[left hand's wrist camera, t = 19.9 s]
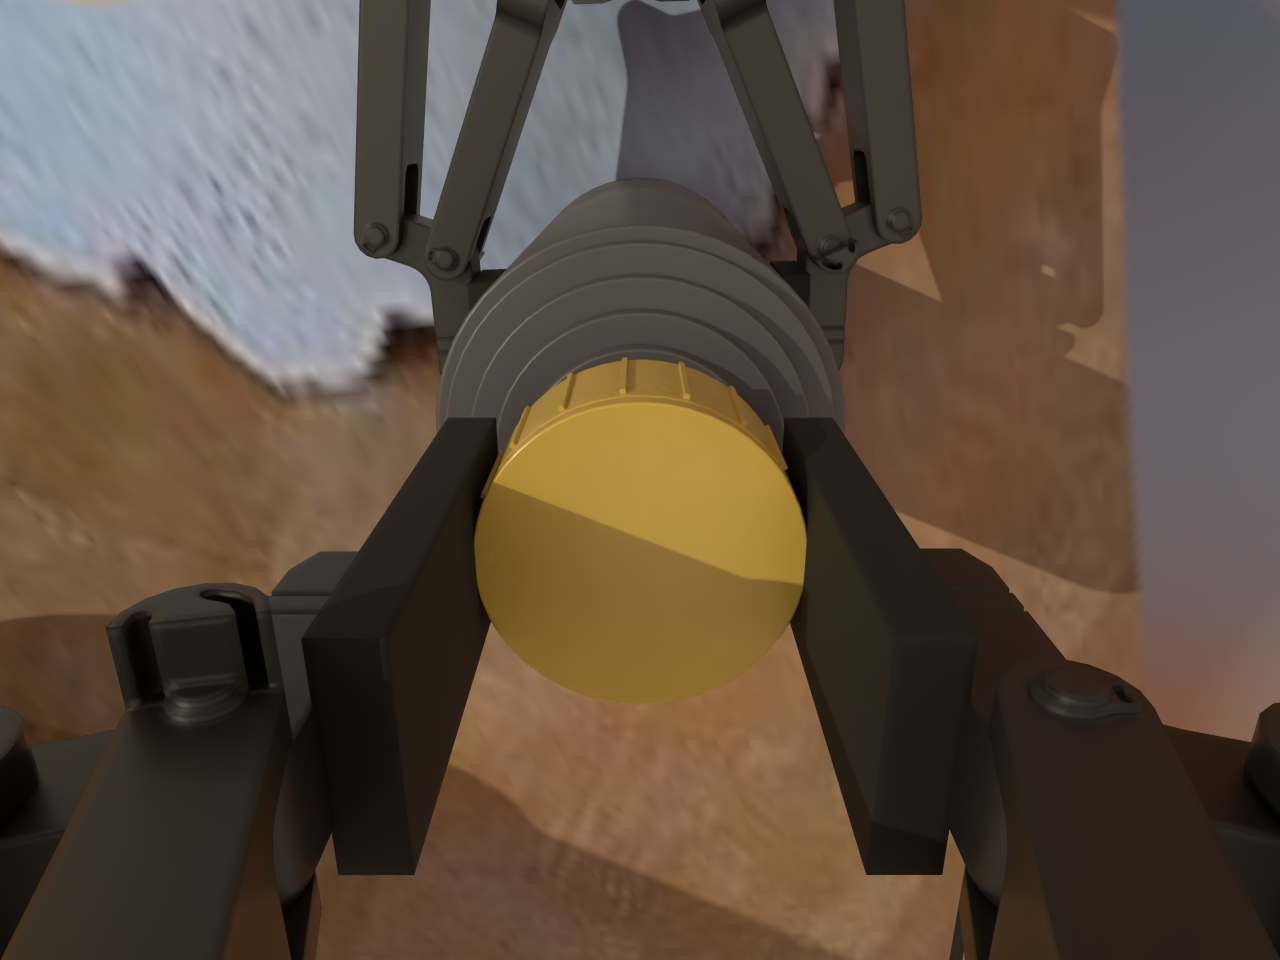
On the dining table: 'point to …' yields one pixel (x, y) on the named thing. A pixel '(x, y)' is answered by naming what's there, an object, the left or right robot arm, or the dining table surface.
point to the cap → (640, 535)
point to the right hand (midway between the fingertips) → (644, 481)
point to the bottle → (640, 312)
